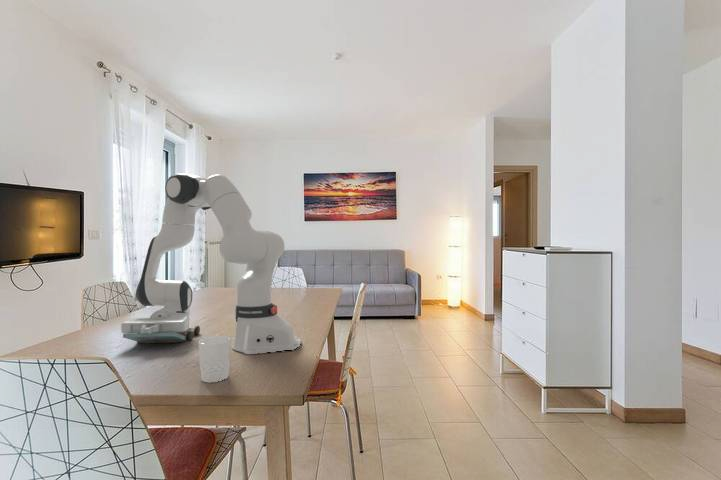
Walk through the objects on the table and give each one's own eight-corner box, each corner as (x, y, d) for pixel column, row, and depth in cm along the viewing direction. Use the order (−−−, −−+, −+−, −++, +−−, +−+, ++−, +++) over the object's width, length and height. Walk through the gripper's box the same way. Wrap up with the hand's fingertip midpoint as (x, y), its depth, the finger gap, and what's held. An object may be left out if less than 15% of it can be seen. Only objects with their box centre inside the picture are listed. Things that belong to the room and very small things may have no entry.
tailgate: (185, 336, 131) (175, 332, 121) (185, 341, 130) (174, 337, 121) (137, 337, 129) (123, 333, 120) (136, 343, 128) (122, 339, 119)
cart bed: (200, 333, 143) (200, 324, 143) (189, 341, 131) (188, 332, 131) (151, 334, 141) (151, 325, 141) (135, 343, 129) (135, 334, 129)
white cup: (224, 384, 93) (224, 344, 93) (192, 383, 93) (192, 344, 93) (235, 372, 101) (235, 335, 101) (206, 372, 101) (206, 335, 101)
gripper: (132, 313, 130) (110, 321, 117) (193, 311, 133) (178, 320, 119) (132, 331, 131) (110, 342, 117) (193, 329, 133) (178, 340, 119)
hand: (145, 331), depth 118 cm, fingers closed
